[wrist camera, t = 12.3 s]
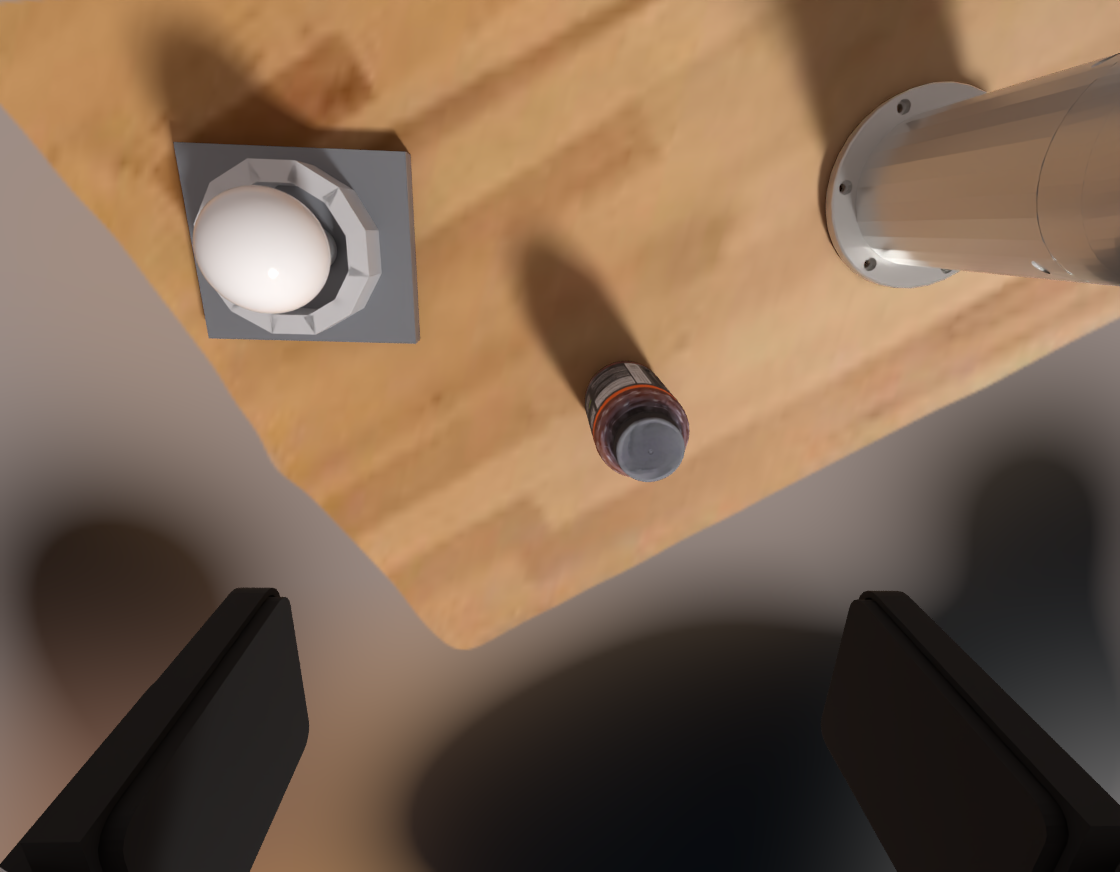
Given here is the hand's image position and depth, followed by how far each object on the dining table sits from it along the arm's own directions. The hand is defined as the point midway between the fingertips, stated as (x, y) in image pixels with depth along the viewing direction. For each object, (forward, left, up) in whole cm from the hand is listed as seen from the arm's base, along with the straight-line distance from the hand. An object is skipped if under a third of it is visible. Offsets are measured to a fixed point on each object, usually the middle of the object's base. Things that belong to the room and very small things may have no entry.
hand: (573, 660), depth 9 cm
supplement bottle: (-6, +5, -34) cm, 34 cm away
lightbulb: (+15, -5, -32) cm, 36 cm away
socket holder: (+16, -5, -33) cm, 37 cm away
